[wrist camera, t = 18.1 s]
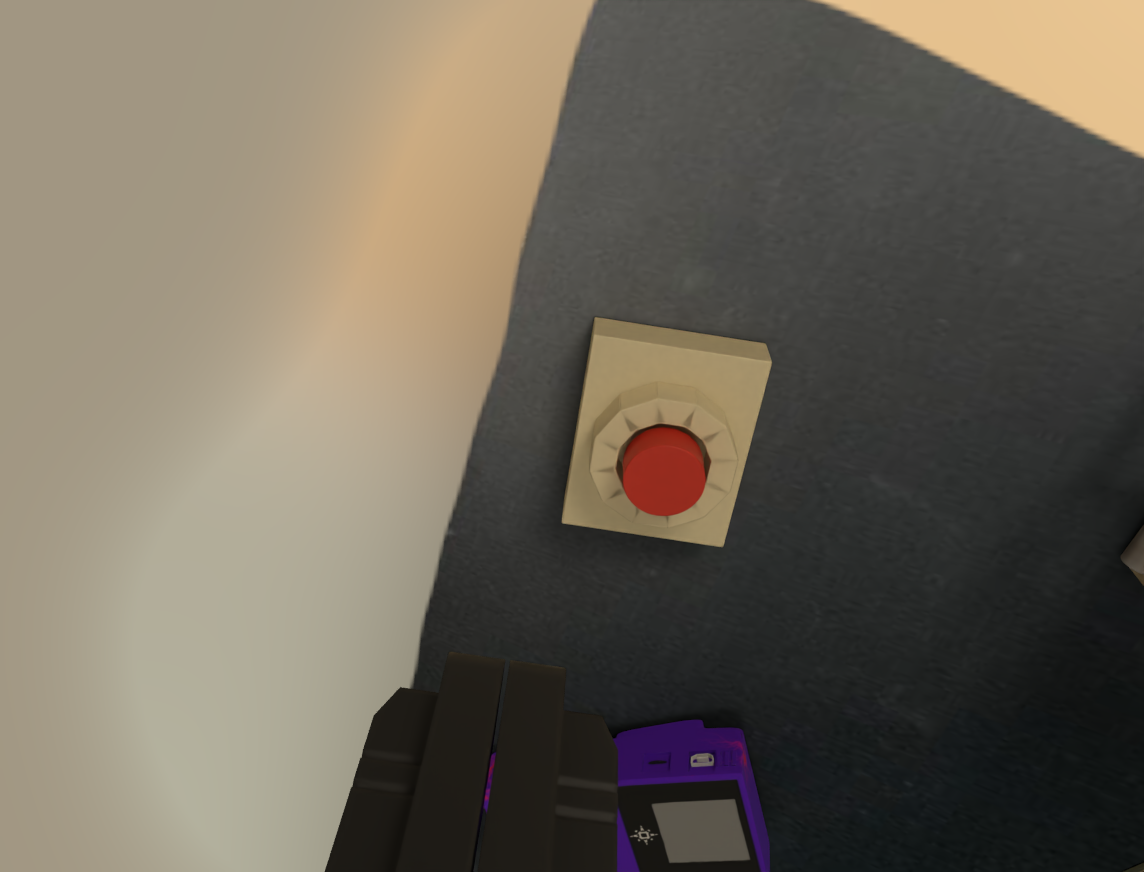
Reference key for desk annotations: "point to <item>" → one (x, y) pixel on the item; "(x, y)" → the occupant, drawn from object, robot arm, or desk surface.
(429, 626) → the desk surface
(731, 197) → the desk surface
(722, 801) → the handheld gaming console
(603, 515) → the button box
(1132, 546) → the drawer
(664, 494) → the red button
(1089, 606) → the desk surface
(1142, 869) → the hinged wooden box
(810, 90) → the desk surface
